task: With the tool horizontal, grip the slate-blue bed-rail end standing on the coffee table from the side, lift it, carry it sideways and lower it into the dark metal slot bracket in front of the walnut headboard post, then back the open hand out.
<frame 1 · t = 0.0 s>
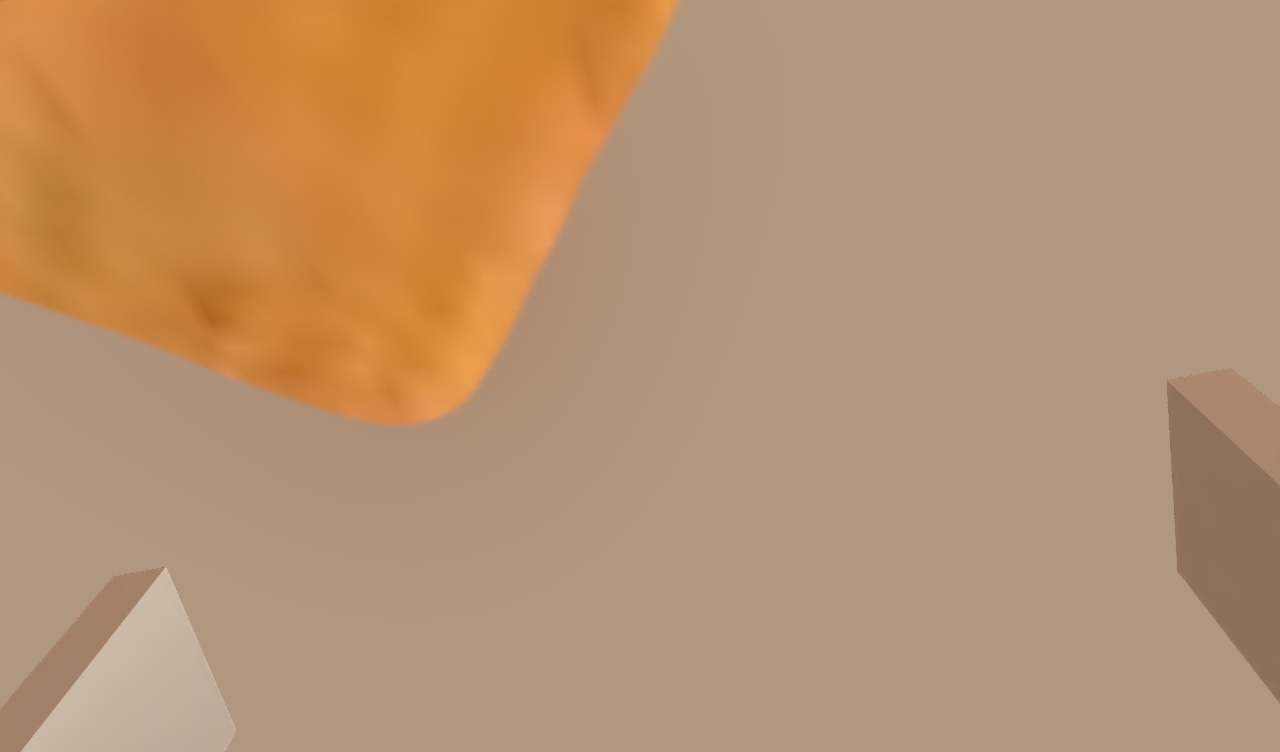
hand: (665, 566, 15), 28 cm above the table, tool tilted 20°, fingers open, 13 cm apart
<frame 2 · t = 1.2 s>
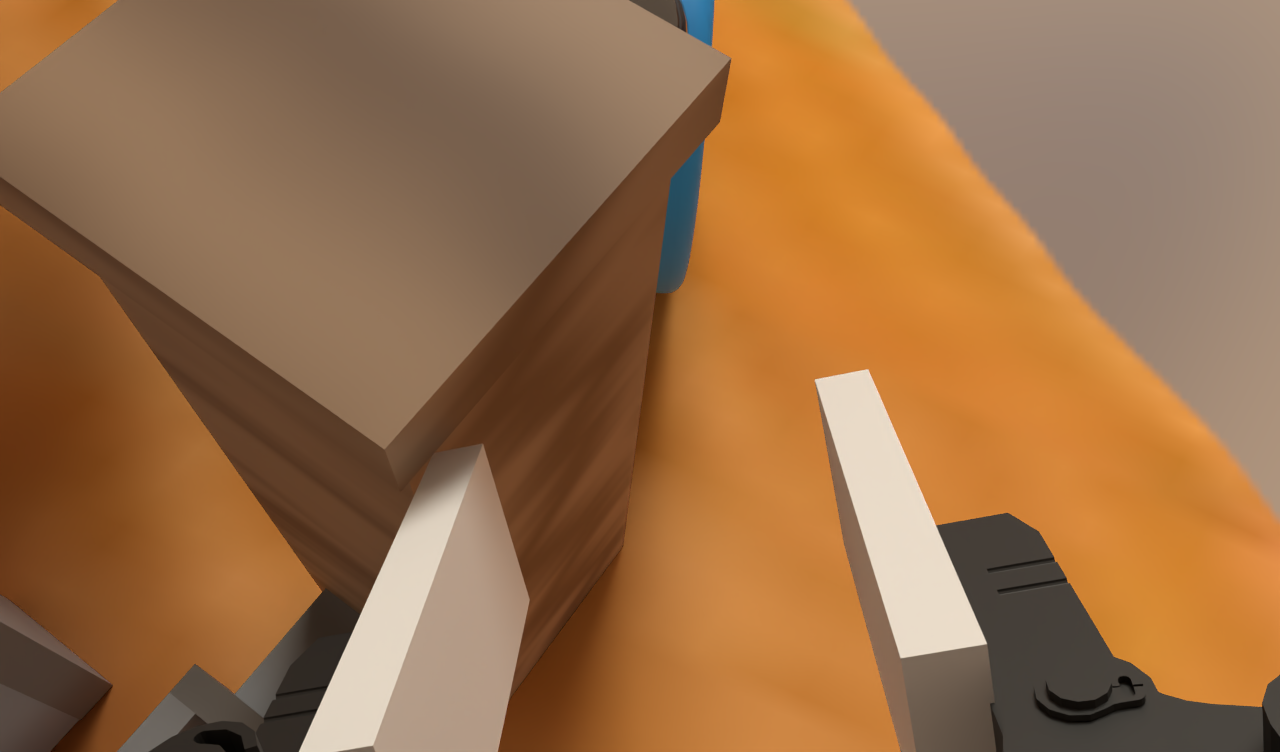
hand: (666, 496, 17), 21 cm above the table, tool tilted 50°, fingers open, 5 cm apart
alarm clock: (599, 211, 44), on the table
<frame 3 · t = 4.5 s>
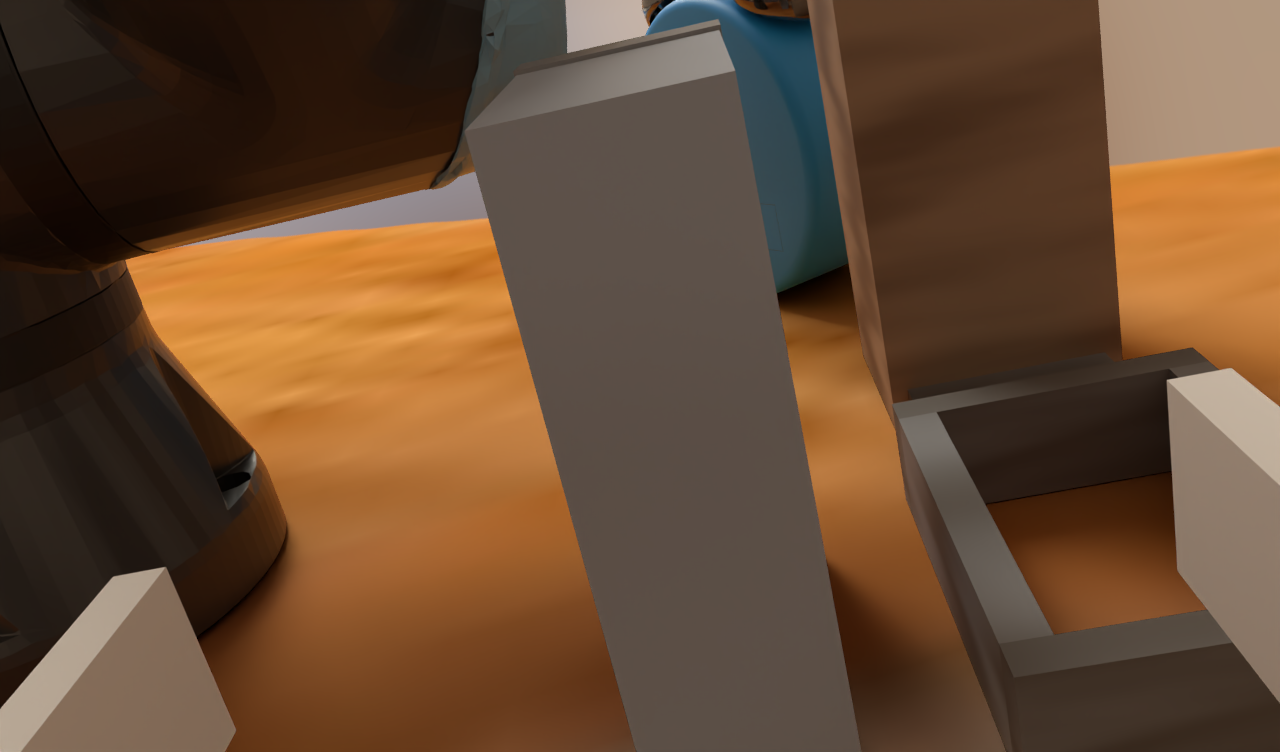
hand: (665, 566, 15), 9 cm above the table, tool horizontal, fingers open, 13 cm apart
alarm clock: (792, 283, 52), on the table
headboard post: (1129, 592, 26), on the table
rail end: (742, 658, 27), on the table
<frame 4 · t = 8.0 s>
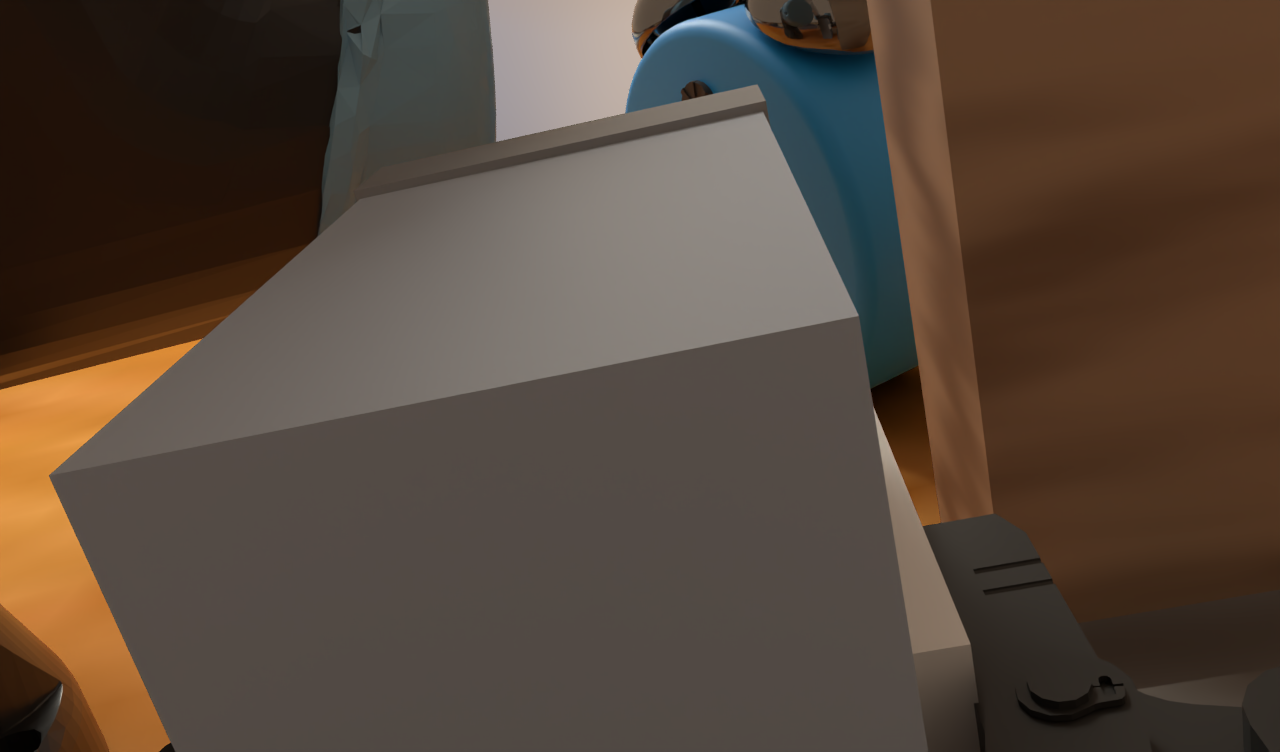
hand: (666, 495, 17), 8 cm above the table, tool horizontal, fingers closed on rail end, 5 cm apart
alarm clock: (829, 392, 40), on the table
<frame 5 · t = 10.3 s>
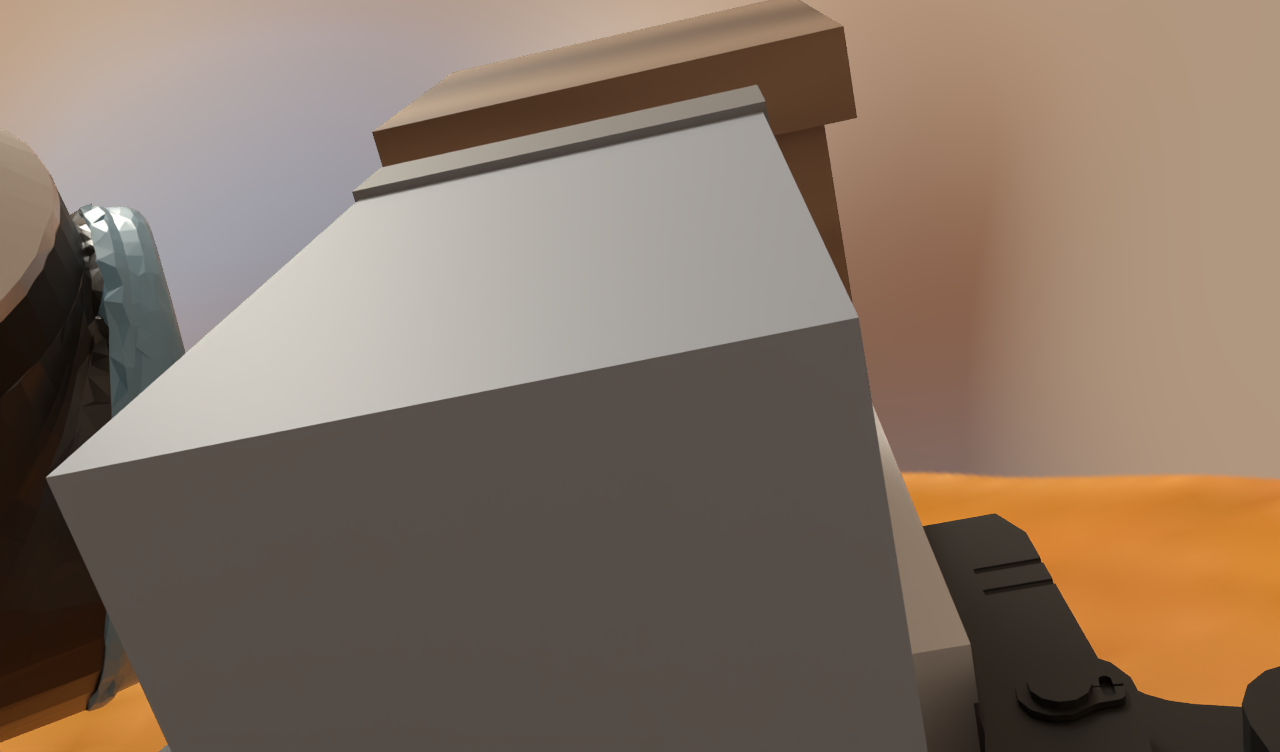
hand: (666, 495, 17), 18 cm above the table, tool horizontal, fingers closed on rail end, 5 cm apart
when the fingers open (10 cm above the table, at t = 12.5 s): rail end drops 1 cm, resting in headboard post.
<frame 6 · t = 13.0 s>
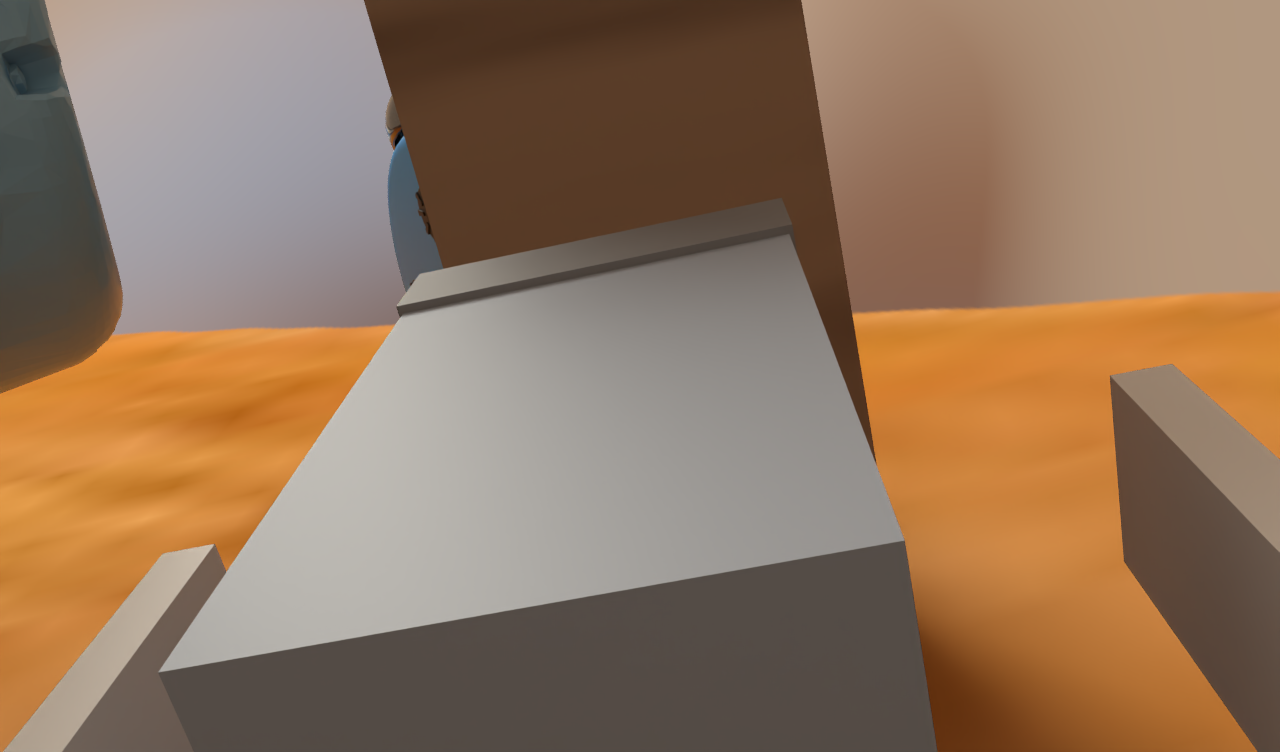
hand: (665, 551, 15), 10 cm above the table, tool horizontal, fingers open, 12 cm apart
alarm clock: (589, 473, 42), on the table
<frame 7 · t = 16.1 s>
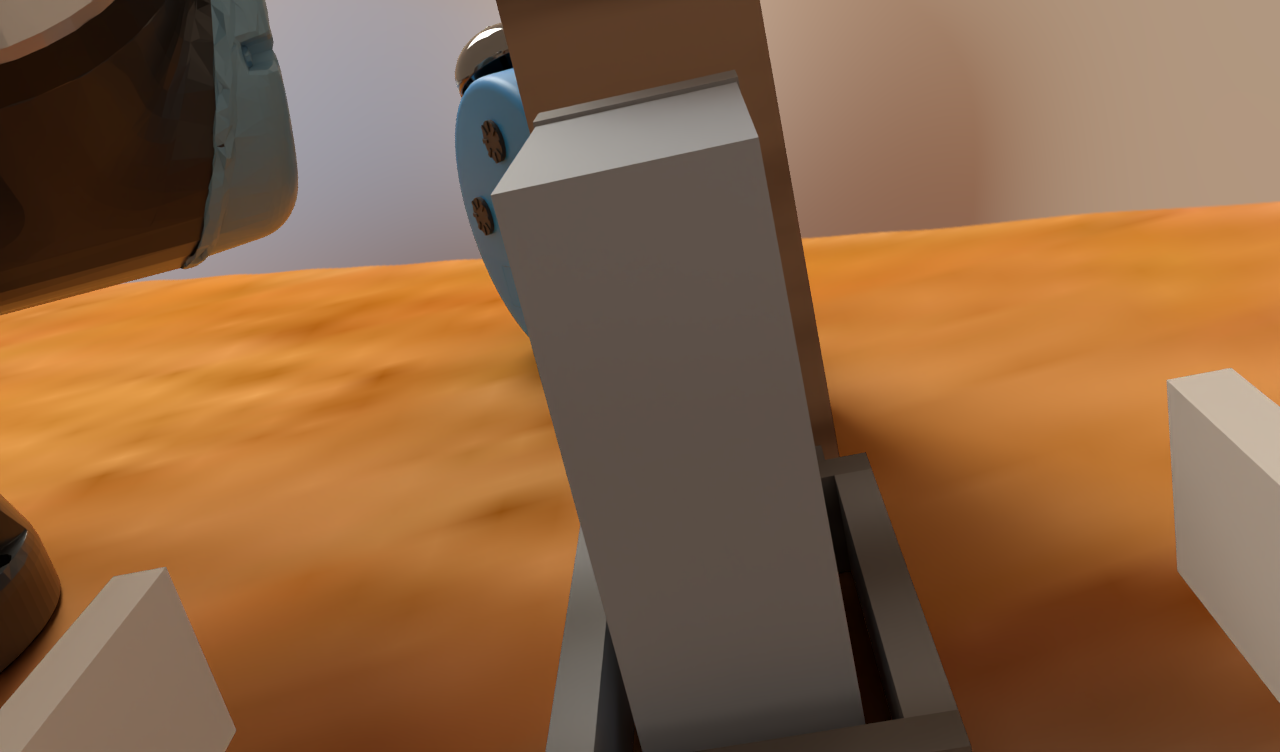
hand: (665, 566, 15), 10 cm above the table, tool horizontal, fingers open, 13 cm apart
alarm clock: (610, 349, 54), on the table
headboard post: (756, 702, 27), on the table
rail end: (758, 700, 27), resting in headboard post
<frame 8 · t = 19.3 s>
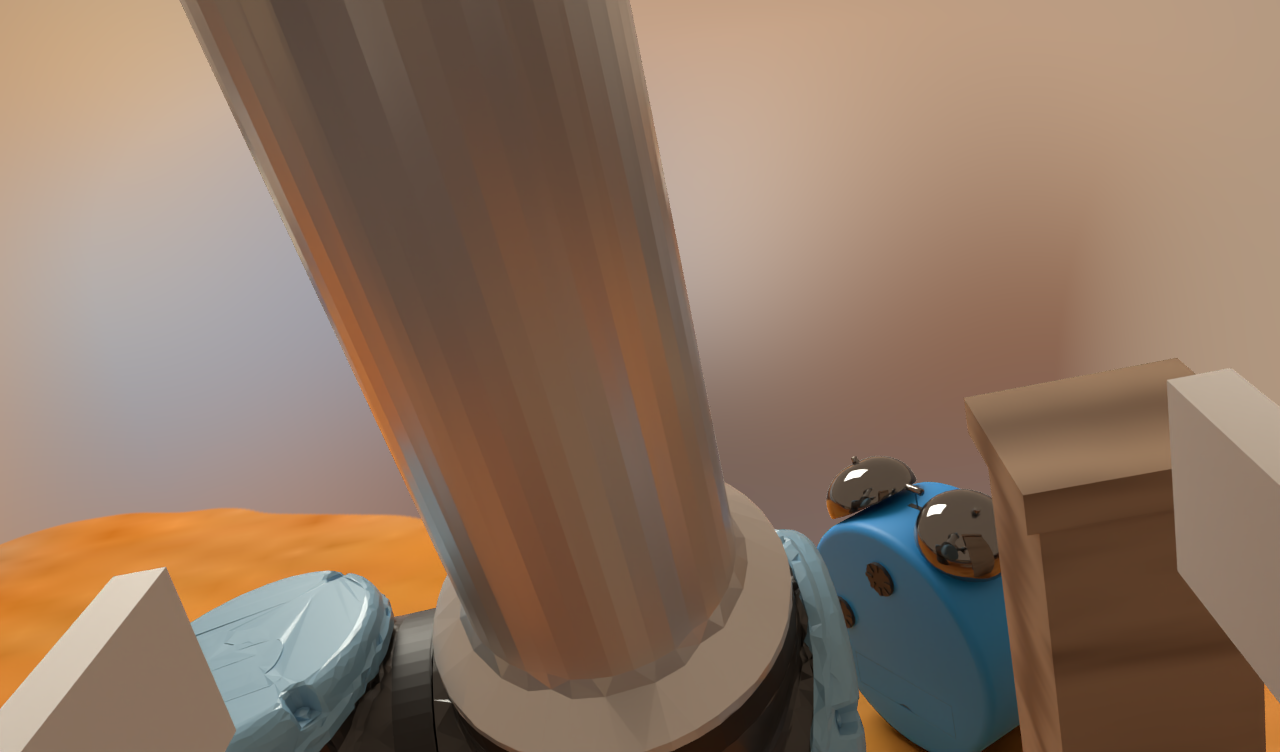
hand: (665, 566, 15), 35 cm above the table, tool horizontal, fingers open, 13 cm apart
alarm clock: (949, 723, 62), on the table
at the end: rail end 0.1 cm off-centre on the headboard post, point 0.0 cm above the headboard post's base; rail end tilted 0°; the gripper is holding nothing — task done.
